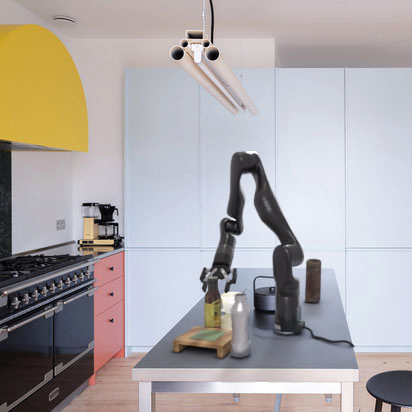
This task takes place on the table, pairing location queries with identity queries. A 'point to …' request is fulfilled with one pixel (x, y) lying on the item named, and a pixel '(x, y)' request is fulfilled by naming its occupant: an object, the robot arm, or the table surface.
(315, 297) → the rusty brown cylinder
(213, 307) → the sauce bottle
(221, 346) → the wooden stand
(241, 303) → the plastic bottle
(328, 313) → the table surface
